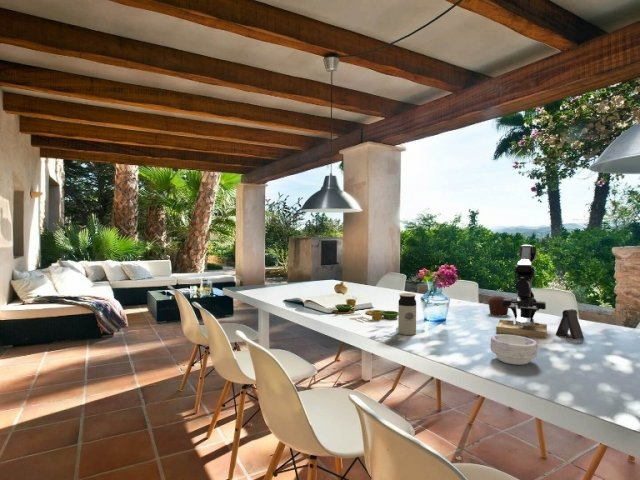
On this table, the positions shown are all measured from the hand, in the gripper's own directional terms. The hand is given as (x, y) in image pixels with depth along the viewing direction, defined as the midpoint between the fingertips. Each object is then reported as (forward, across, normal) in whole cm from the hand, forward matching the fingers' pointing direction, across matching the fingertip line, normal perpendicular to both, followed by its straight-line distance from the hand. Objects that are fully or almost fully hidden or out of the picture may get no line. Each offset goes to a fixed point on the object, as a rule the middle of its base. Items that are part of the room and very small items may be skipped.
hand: (523, 321), depth 199 cm
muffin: (+3, -15, +30) cm, 34 cm away
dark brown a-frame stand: (+3, +19, -8) cm, 21 cm away
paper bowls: (+3, +1, -59) cm, 59 cm away
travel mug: (+3, -45, -40) cm, 60 cm away
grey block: (+2, 0, -2) cm, 3 cm away
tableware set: (+4, -81, -10) cm, 82 cm away
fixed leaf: (+3, 0, -11) cm, 12 cm away
